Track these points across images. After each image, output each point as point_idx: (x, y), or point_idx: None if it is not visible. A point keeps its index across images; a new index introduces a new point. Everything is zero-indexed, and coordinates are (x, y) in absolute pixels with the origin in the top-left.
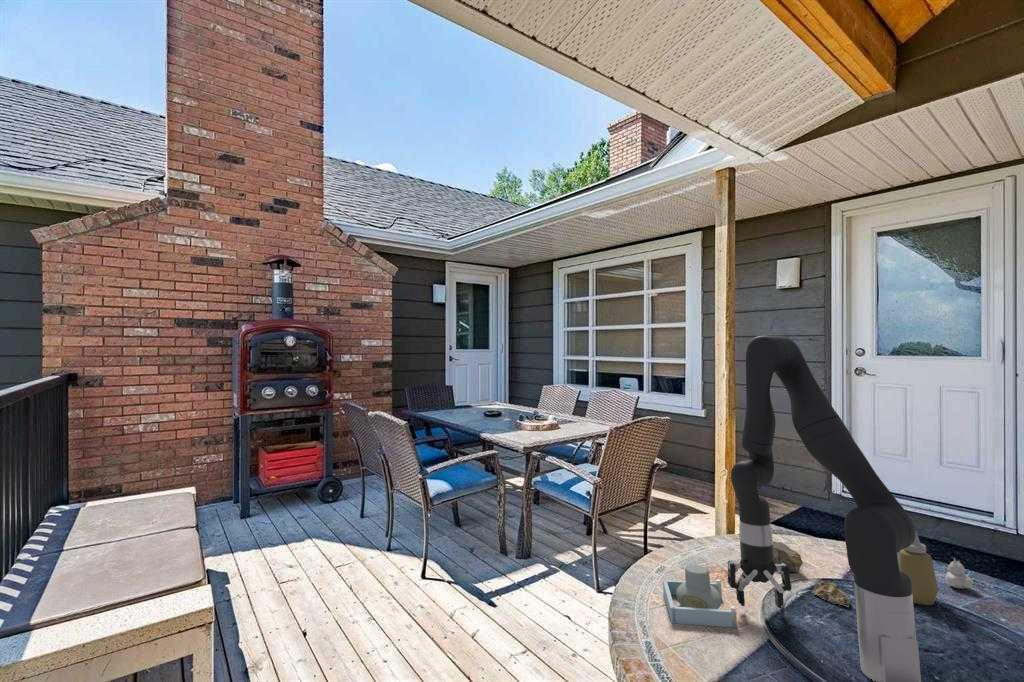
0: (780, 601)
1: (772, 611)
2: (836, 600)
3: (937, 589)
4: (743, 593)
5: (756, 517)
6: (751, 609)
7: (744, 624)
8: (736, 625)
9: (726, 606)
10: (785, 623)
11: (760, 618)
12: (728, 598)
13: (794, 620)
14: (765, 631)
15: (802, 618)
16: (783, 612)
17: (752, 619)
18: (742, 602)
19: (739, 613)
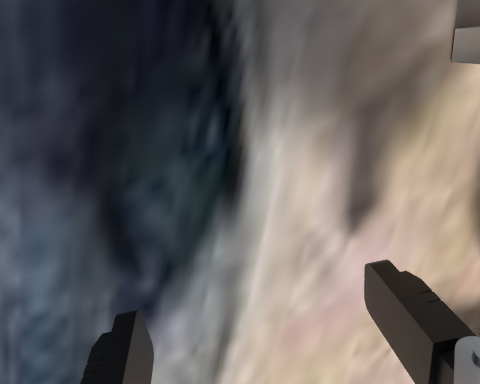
0: (111, 350)
1: (177, 313)
2: None
3: None
4: (427, 328)
5: None
6: (292, 297)
7: (387, 97)
8: (469, 28)
9: None
10: (113, 194)
11: (263, 210)
12: (382, 365)
13: (53, 251)
14: (267, 30)
15: (3, 290)
16: None
17: (316, 182)
18: (395, 273)
19: (374, 232)
